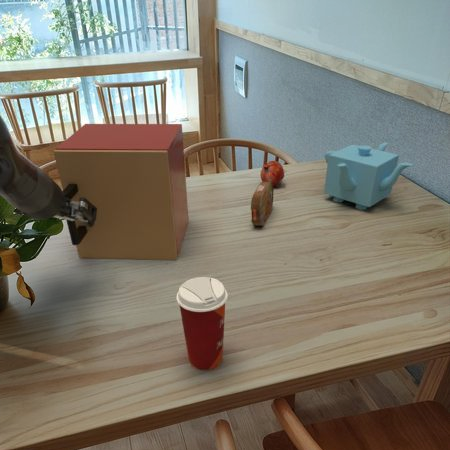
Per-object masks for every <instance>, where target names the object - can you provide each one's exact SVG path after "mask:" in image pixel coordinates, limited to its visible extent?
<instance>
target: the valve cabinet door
mask: <svg viewBox="0 0 450 450" xmlns="http://www.w3.org/2000/svg"><path fill="white" fill-rule="evenodd" d="M52 153H53V156H54V160H55V163H56V169H57V172H58V176H59V180H60V184H61V185H60V186H61V190H62V192H63V194H64V196H65V197H66V198H68V199H70V200H71V201H74V202H79V198H80V197H84V198H86V199H87V200H88V201H89V202H90V203H92V204H93V205H94V206H95V207H96V208H97V215H96V221H95V222H94V225H93V227H88V226H87V225H85V224H84V223H83V222H82V221H79V220H75V221H70V220H67V219H65V220H66V225H67V228H68V232H69V233H68V234H69V236H70V241H71V244H72V245H73V246H76V250H77V255H78V258H79V259H110V260H111V259H112V260H114V259H115V260H116V259H117V260H155V261H156V260H157V261H178V258H177V247H176V236H175V225H174V215H173V204H172V193H171V182H170V172H169V161H168V151H167V150H56V149H54V150H53V152H52ZM68 215H70V216H71V215H72V211H71V212H70V213H69V214H68ZM78 215H79V216H81V217H82V214H79V213H78Z"/></svg>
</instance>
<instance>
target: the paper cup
mask: <svg viewBox="0 0 450 450" xmlns="http://www.w3.org/2000/svg"><path fill="white" fill-rule="evenodd" d="M228 297H229V295H228V291H227V290H226V288H225V286H224V284H223V283H222V282H221V281H220V280H218V279H216V278H214V277H208V276H198V277H193V278H191V279H188V280H186V281H184V282H183V283H182V284H181V285H180V286H179V288H178V291H177V293H176V296H175V298H176V302H177V304H178V306H179V311H180V316H181V322H182V329H183V335H184V341H185V346H186V352H187V357H188V361H189V363H190V365H191V366H192V367H193V368H196V369H198V370H200V371H201V370H202V371H207V370H213V369H215V368H216V367H218V366H219V365H220V364H221V363H222V360H223V355H224V339H225V319H226V318H225V317H226V302H227V301H228Z"/></svg>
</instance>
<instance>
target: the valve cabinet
mask: <svg viewBox="0 0 450 450" xmlns="http://www.w3.org/2000/svg"><path fill="white" fill-rule="evenodd" d="M184 149H185V148H184V137H183V123H85V124H83V125H82V126H81V127H79V129H77V130H76V131H75V132H73V133H72V134H71V135H70V136H68V137H67V139H65V140H64V141H63V142H62V143H61V144H59V145H58V146H57V147H56V148H55V150H167V151H168V161H169V172H170V182H171V193H172V204H173V215H174V225H175V236H176V247H177V259H178V258H179V256H180V251H181V248H182V247H183V242H184V239H185V236H186V233H187V229H188V226H189V222H190V219H189V206H188V205H189V204H188V192H187V179H186V178H187V177H186V165H185V152H184Z"/></svg>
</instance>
